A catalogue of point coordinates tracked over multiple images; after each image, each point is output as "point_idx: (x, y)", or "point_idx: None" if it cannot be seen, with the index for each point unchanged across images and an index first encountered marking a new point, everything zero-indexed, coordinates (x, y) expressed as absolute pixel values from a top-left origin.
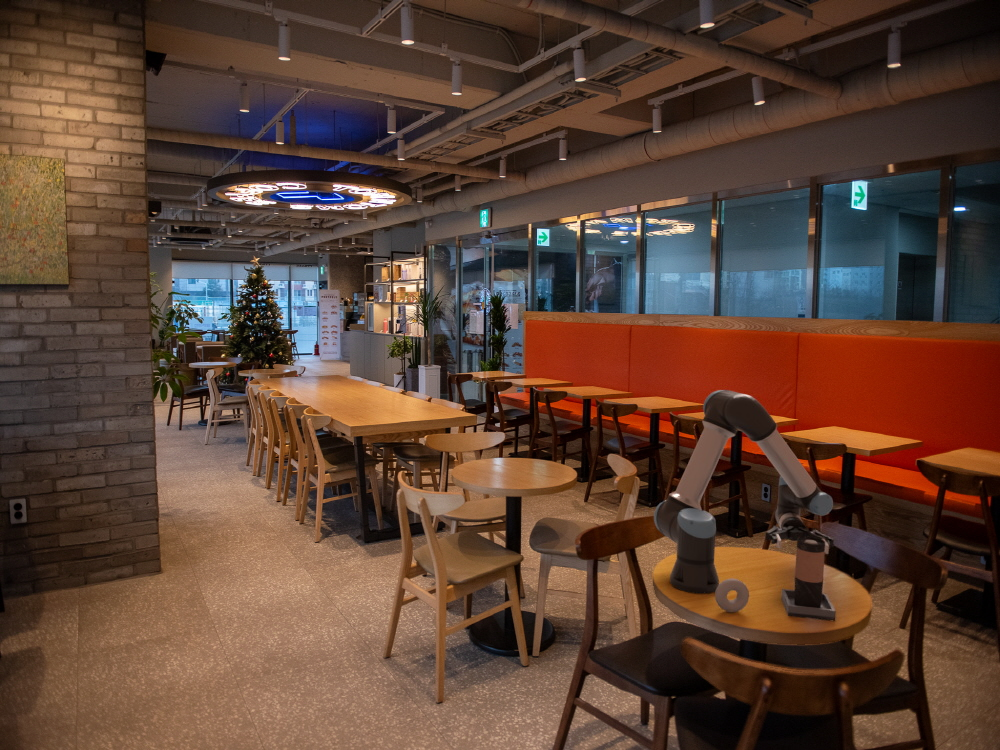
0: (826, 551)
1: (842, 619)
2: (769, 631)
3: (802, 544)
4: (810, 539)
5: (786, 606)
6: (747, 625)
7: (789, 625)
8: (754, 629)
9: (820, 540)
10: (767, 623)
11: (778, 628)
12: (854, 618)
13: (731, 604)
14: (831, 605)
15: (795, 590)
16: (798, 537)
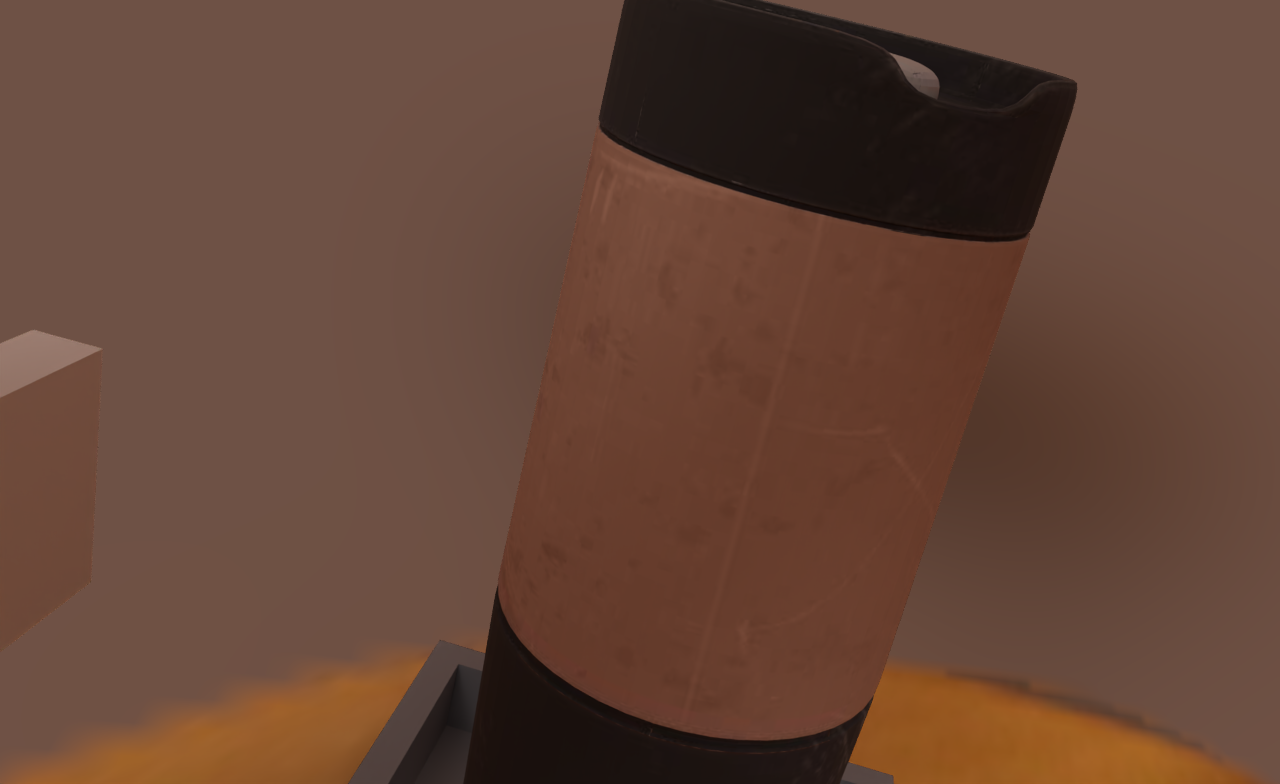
0: (75, 517)
1: (316, 745)
2: (1032, 690)
3: (986, 98)
4: (804, 83)
5: None
6: (1201, 773)
7: (873, 731)
8: (1139, 724)
9: (657, 11)
10: (1051, 777)
11: (965, 710)
12: (160, 744)
13: None
14: (402, 723)
15: None
16: (1062, 80)
